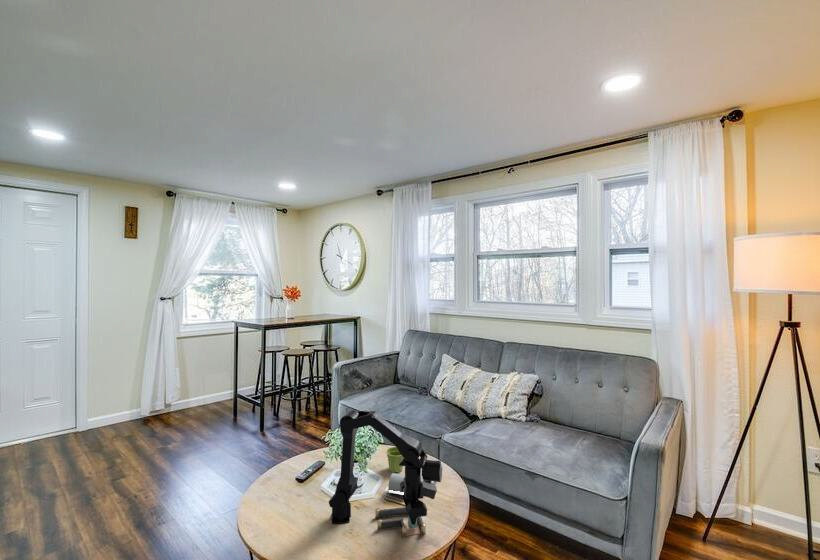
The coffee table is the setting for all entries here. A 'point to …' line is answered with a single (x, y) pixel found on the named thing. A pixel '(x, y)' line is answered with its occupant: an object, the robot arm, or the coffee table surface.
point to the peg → (411, 524)
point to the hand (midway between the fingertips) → (412, 521)
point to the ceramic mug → (395, 482)
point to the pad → (413, 530)
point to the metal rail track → (397, 522)
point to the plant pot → (394, 459)
